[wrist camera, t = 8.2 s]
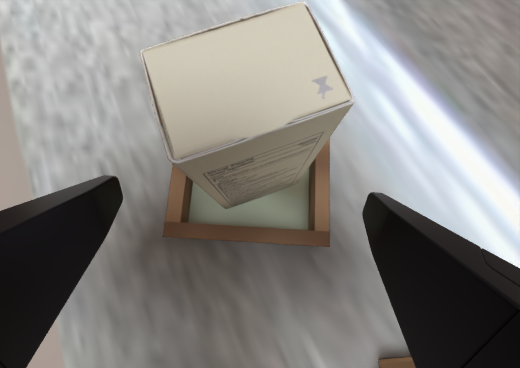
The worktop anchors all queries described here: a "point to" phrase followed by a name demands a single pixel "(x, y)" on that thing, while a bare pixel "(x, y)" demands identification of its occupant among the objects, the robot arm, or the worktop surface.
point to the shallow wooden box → (397, 363)
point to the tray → (255, 211)
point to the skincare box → (247, 101)
